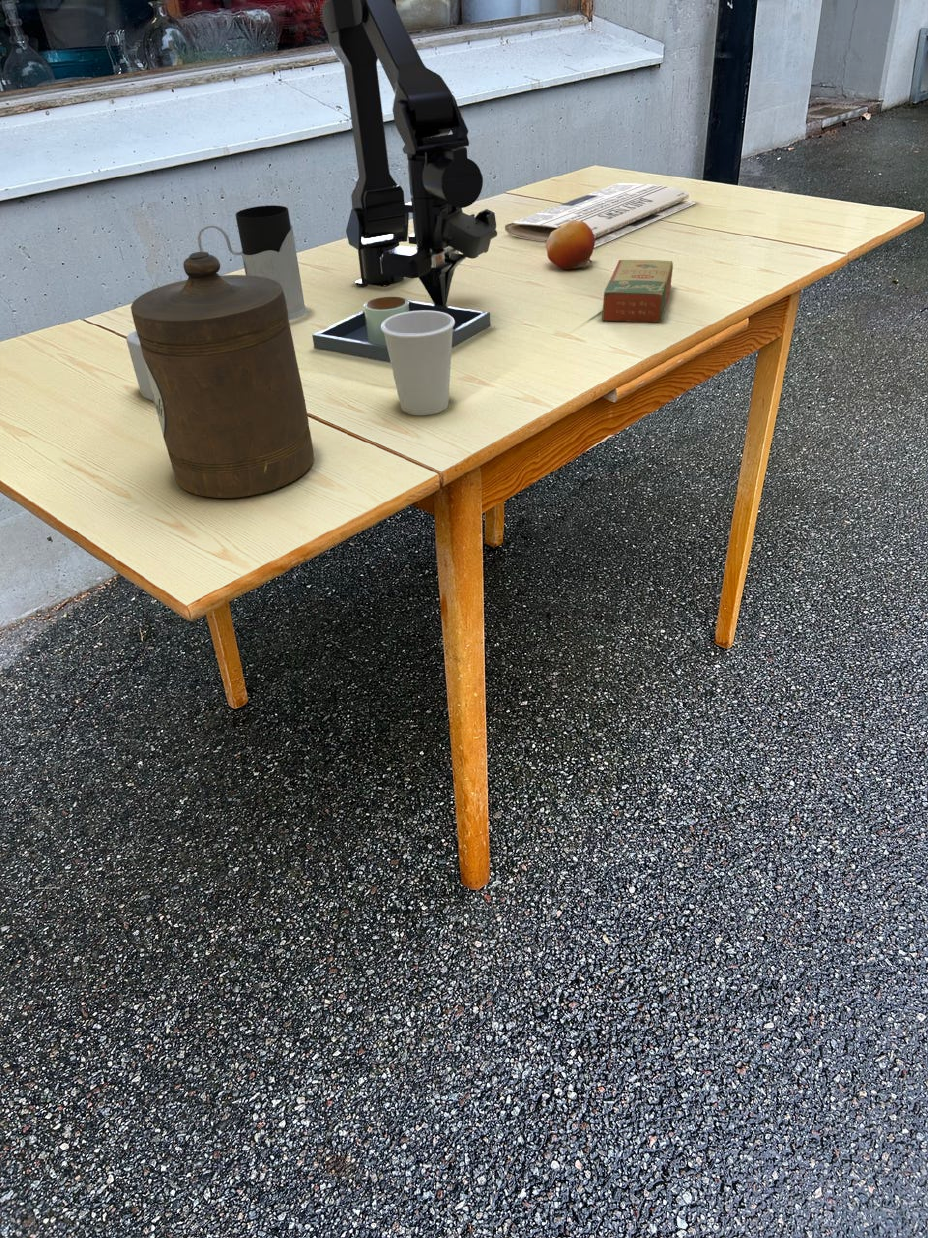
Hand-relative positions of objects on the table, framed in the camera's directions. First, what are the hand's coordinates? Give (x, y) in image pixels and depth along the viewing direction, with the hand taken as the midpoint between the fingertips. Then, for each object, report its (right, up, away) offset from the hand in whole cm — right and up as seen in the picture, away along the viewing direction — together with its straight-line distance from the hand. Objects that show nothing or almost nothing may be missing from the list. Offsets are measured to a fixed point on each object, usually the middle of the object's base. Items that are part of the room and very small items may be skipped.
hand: (441, 308), depth 134 cm
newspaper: (+30, +32, +44) cm, 62 cm away
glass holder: (-27, +1, +7) cm, 28 cm away
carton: (+29, +1, +2) cm, 29 cm away
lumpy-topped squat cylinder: (-31, -16, -16) cm, 38 cm away
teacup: (-7, -7, -8) cm, 13 cm away
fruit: (+21, +14, +20) cm, 32 cm away
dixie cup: (-1, -20, -24) cm, 31 cm away
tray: (-5, -6, -5) cm, 10 cm away
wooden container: (-20, -29, -35) cm, 49 cm away
